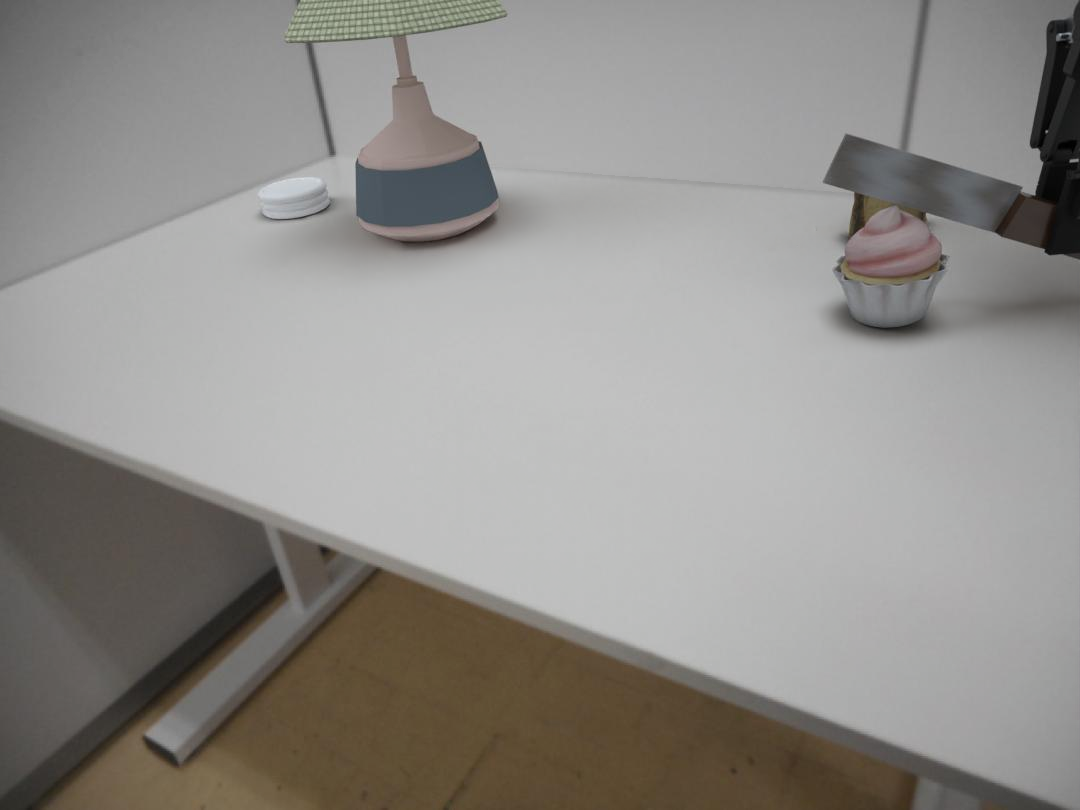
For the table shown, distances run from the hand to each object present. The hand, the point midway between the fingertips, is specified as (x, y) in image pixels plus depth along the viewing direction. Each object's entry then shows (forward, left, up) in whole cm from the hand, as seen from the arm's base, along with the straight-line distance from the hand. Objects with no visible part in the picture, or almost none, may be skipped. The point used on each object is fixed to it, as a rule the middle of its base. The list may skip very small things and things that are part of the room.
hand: (1052, 245), depth 64 cm
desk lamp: (+59, -37, -6) cm, 70 cm away
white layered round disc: (+81, -50, -6) cm, 95 cm away
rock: (+5, -20, -6) cm, 21 cm away
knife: (+8, 0, +3) cm, 9 cm away
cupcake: (+13, 0, -5) cm, 14 cm away
